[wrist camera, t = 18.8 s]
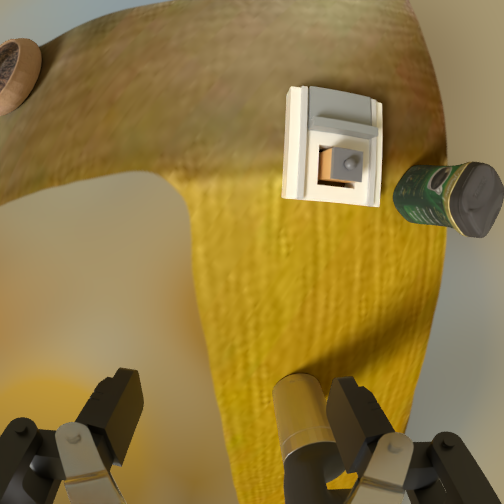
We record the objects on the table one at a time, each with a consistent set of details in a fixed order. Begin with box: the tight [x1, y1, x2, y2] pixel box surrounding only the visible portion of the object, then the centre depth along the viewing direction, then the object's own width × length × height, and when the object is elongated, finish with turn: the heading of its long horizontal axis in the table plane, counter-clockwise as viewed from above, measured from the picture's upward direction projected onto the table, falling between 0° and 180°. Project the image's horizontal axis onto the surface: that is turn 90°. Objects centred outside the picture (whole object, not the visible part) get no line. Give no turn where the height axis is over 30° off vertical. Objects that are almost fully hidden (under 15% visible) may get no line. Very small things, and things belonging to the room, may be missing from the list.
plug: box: [318, 147, 363, 183], centre depth 36 cm, size 4×4×9 cm
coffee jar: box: [393, 162, 504, 238], centre depth 33 cm, size 10×8×19 cm
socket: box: [282, 86, 382, 207], centre depth 38 cm, size 16×14×5 cm
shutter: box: [308, 86, 378, 139], centre depth 33 cm, size 6×9×3 cm
